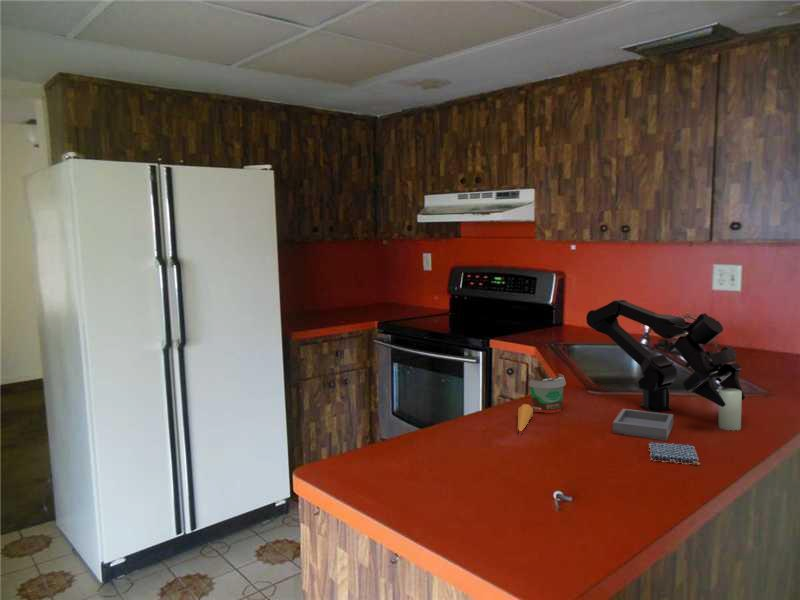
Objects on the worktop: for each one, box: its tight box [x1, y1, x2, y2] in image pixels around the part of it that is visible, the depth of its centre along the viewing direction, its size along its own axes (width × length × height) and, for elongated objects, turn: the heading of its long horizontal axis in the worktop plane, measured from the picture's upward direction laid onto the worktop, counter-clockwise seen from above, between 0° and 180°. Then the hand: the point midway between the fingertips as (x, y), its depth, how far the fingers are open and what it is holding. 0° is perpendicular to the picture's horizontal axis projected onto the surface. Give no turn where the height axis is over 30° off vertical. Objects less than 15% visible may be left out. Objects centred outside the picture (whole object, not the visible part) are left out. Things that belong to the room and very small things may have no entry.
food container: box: [528, 373, 567, 410], centre depth 175 cm, size 12×6×10 cm, turn 117°
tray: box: [612, 408, 674, 442], centre depth 157 cm, size 13×13×3 cm
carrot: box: [517, 403, 534, 431], centre depth 163 cm, size 20×4×4 cm, turn 162°
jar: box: [717, 387, 743, 432], centre depth 155 cm, size 5×5×10 cm
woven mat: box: [647, 440, 701, 466], centre depth 139 cm, size 10×11×2 cm
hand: (734, 402), depth 154 cm, fingers open, 9 cm apart
